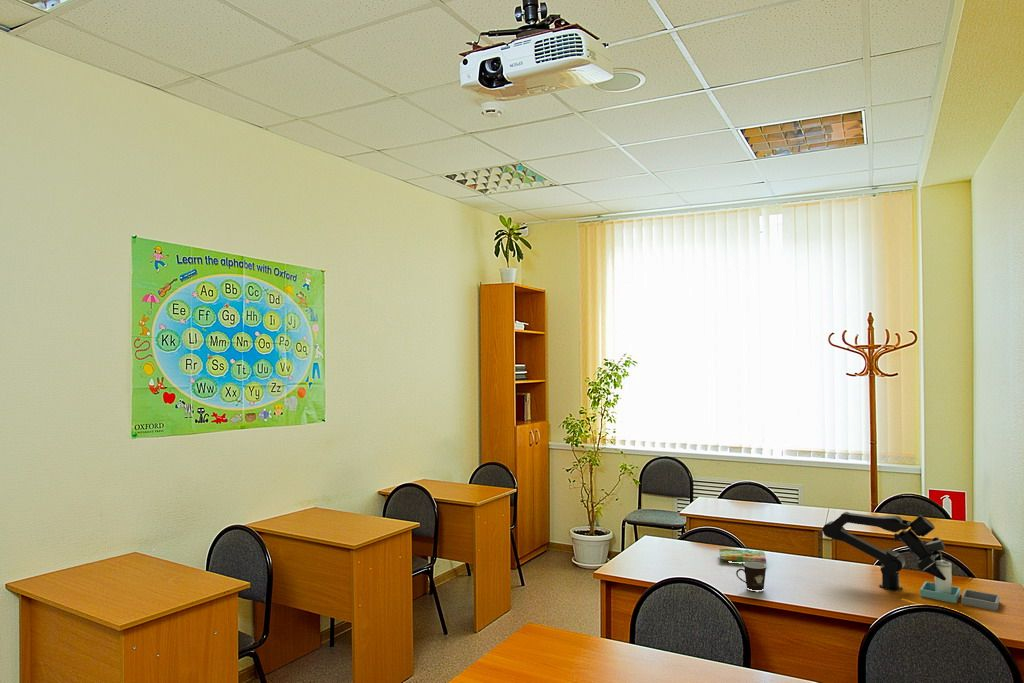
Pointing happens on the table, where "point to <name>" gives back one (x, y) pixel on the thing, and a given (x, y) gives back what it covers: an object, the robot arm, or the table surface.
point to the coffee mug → (754, 575)
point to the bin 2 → (980, 599)
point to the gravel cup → (945, 585)
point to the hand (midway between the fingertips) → (947, 576)
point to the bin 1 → (929, 592)
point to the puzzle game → (743, 555)
